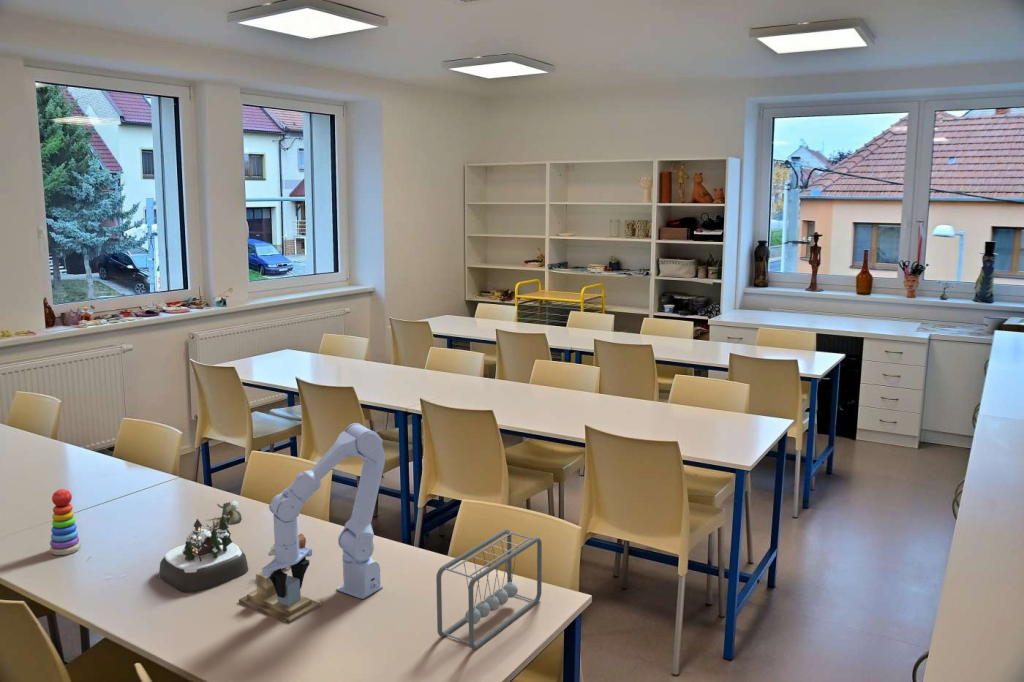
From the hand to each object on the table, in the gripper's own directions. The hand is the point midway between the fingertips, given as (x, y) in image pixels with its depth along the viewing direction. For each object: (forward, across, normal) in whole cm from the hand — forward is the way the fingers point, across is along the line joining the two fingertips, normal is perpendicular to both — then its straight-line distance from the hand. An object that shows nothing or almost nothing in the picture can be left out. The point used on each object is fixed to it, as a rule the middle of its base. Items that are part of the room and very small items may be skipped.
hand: (289, 592), depth 204 cm
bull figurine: (+5, -17, -19) cm, 26 cm away
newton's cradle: (+5, -23, +46) cm, 52 cm away
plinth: (+4, 0, -4) cm, 6 cm away
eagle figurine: (+5, -29, -60) cm, 67 cm away
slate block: (+2, 0, 0) cm, 2 cm away
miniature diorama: (+5, -1, -36) cm, 36 cm away
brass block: (+2, 0, -8) cm, 8 cm away
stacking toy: (+5, +12, -82) cm, 83 cm away
